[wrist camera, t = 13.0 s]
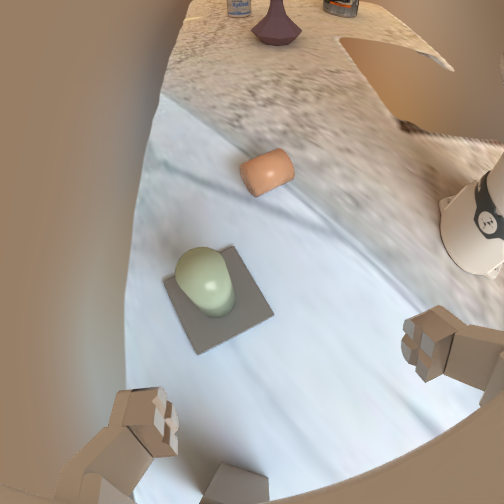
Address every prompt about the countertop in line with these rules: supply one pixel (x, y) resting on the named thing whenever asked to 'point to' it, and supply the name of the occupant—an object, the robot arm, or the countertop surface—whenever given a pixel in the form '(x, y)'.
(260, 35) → the flask
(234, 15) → the supplement tub
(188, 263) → the pale green rounded cylinder
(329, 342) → the countertop surface
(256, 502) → the perfume bottle
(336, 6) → the supplement tub
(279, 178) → the tan rounded cylinder
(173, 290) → the plate
